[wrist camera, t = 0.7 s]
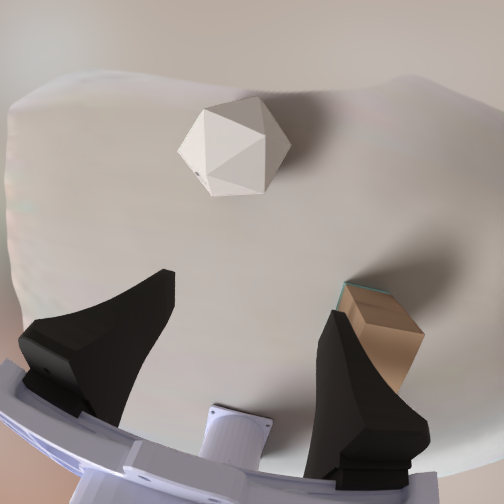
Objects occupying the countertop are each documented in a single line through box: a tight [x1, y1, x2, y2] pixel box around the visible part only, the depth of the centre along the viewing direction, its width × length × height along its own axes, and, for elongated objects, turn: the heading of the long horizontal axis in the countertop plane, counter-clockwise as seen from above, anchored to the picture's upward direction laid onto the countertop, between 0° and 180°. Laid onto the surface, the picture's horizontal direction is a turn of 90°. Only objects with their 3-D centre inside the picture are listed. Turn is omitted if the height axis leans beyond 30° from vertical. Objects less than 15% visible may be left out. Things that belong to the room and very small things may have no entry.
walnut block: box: [336, 282, 425, 394], centre depth 25 cm, size 6×5×10 cm
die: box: [178, 96, 291, 197], centre depth 24 cm, size 8×9×10 cm
